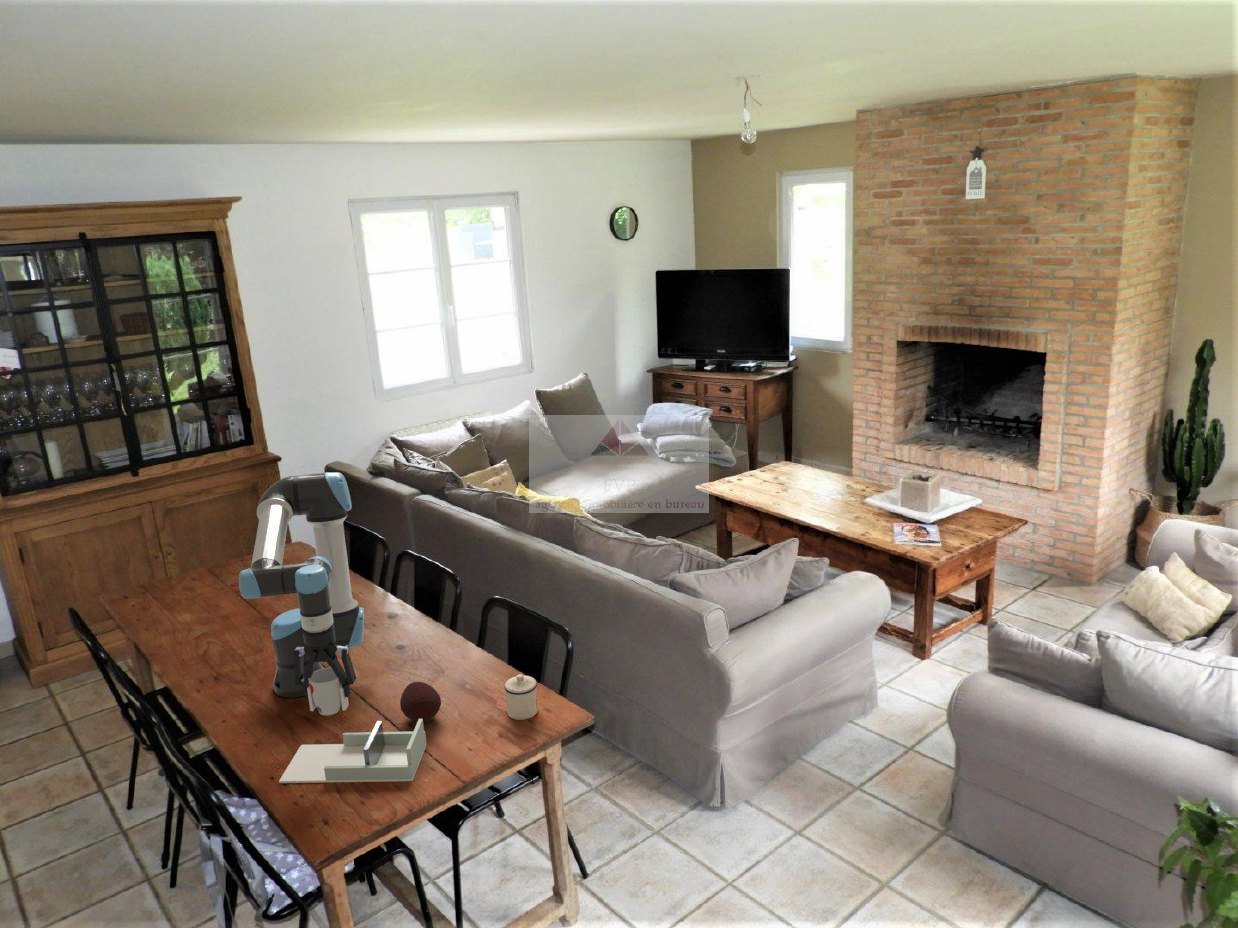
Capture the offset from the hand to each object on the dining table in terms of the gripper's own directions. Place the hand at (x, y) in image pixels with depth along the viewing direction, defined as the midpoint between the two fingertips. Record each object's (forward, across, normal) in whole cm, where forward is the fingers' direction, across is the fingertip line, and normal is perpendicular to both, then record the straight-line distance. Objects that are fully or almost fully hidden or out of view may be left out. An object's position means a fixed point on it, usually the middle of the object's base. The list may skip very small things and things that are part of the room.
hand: (329, 707), depth 231 cm
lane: (+16, +5, 0) cm, 17 cm away
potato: (+16, +18, +20) cm, 31 cm away
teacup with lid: (+16, +45, +24) cm, 53 cm away
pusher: (+15, +11, 0) cm, 18 cm away
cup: (+1, 0, 0) cm, 1 cm away
